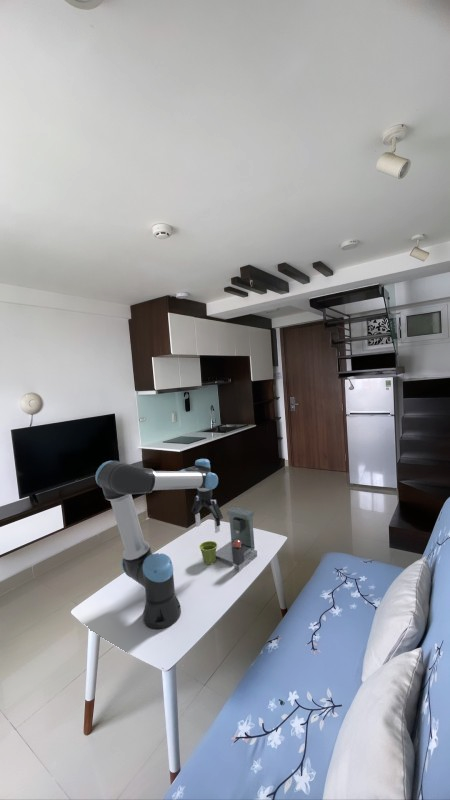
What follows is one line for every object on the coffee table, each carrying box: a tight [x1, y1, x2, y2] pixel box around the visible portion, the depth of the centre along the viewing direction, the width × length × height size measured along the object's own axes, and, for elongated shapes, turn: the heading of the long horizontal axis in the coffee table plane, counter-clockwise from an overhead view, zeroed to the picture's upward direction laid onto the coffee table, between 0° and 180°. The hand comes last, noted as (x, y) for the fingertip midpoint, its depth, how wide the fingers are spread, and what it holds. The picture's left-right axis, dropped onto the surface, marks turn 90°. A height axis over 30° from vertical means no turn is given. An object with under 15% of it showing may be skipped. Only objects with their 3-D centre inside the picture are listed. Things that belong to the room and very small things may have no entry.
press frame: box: [216, 506, 258, 572], centre depth 171 cm, size 23×20×20 cm
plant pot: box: [198, 540, 218, 565], centre depth 168 cm, size 9×9×9 cm
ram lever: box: [232, 540, 244, 565], centre depth 159 cm, size 4×4×11 cm
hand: (207, 528), depth 168 cm, fingers open, 13 cm apart
